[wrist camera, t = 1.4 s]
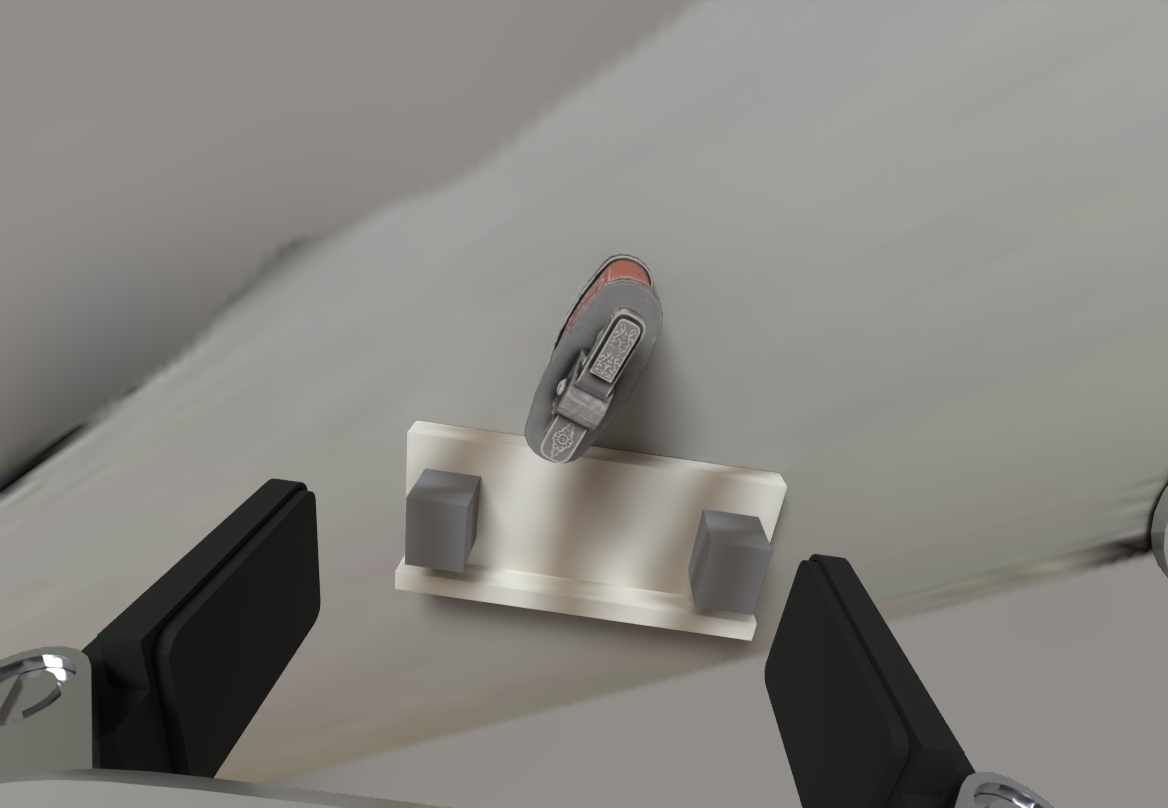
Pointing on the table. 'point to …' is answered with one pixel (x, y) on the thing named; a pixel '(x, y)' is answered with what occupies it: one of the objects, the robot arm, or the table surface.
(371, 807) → the robot arm
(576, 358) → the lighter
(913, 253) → the table surface
